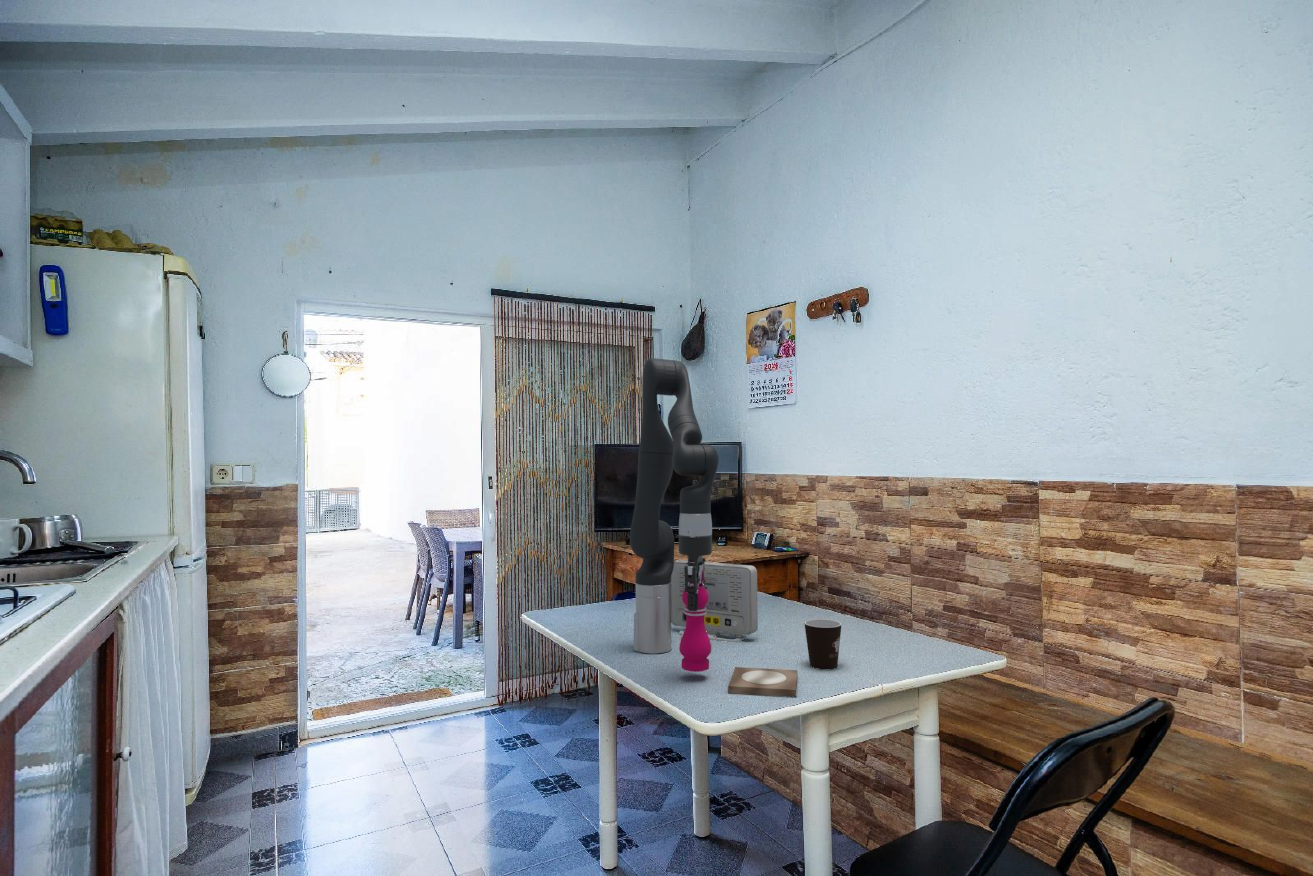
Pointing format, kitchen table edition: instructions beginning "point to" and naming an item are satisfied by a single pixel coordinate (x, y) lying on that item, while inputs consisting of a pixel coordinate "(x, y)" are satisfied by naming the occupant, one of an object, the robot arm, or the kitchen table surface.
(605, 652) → the kitchen table surface
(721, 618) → the network device
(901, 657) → the kitchen table surface
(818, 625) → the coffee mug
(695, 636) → the pepper mill
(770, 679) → the walnut board
